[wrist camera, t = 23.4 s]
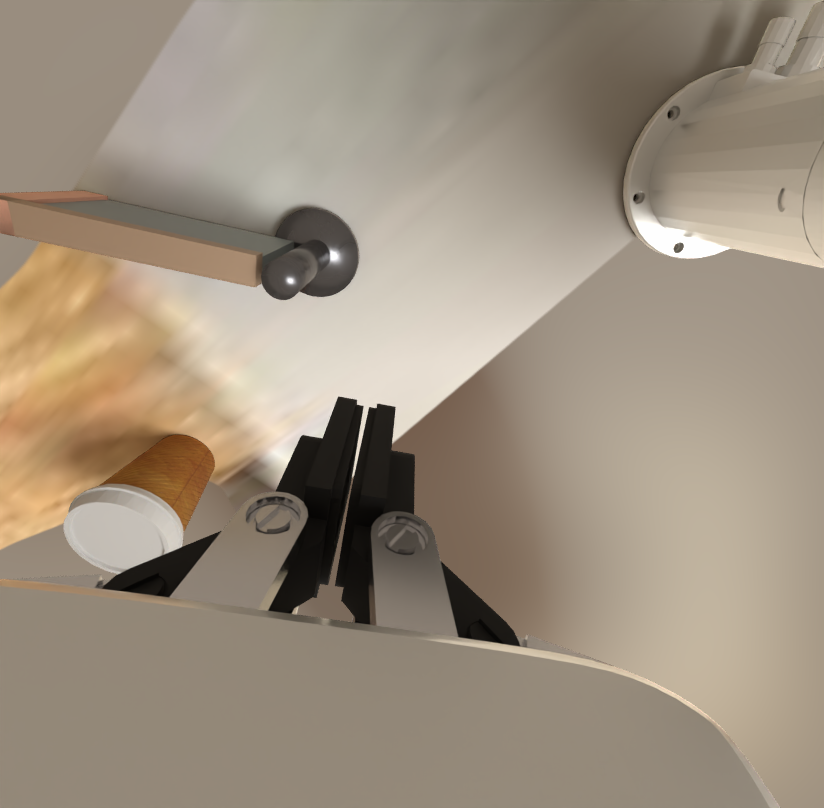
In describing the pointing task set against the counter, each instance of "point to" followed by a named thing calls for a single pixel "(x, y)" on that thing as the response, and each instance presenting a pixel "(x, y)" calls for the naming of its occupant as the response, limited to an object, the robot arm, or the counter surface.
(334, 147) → the counter surface
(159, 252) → the bar
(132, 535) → the disposable coffee cup
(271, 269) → the hinge post
